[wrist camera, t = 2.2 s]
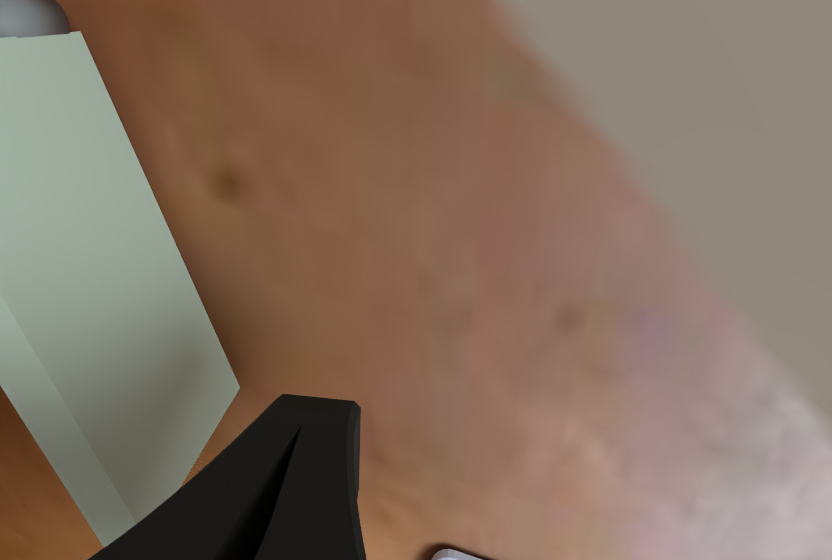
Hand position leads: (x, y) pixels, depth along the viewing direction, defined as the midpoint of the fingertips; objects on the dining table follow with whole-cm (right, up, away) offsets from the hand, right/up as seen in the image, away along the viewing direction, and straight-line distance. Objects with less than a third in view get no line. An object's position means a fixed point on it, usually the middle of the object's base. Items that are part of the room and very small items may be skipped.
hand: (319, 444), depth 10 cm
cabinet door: (-5, +4, +4) cm, 8 cm away
